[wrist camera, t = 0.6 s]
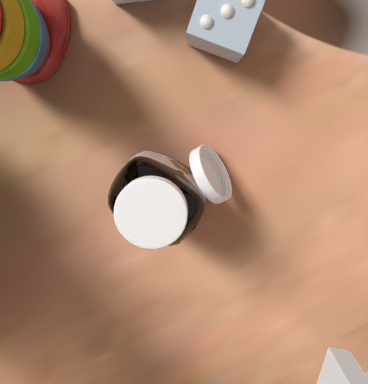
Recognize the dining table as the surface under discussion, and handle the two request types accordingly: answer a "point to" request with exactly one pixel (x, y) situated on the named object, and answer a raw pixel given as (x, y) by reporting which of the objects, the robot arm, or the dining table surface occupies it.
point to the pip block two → (128, 1)
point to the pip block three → (223, 26)
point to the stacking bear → (32, 38)
